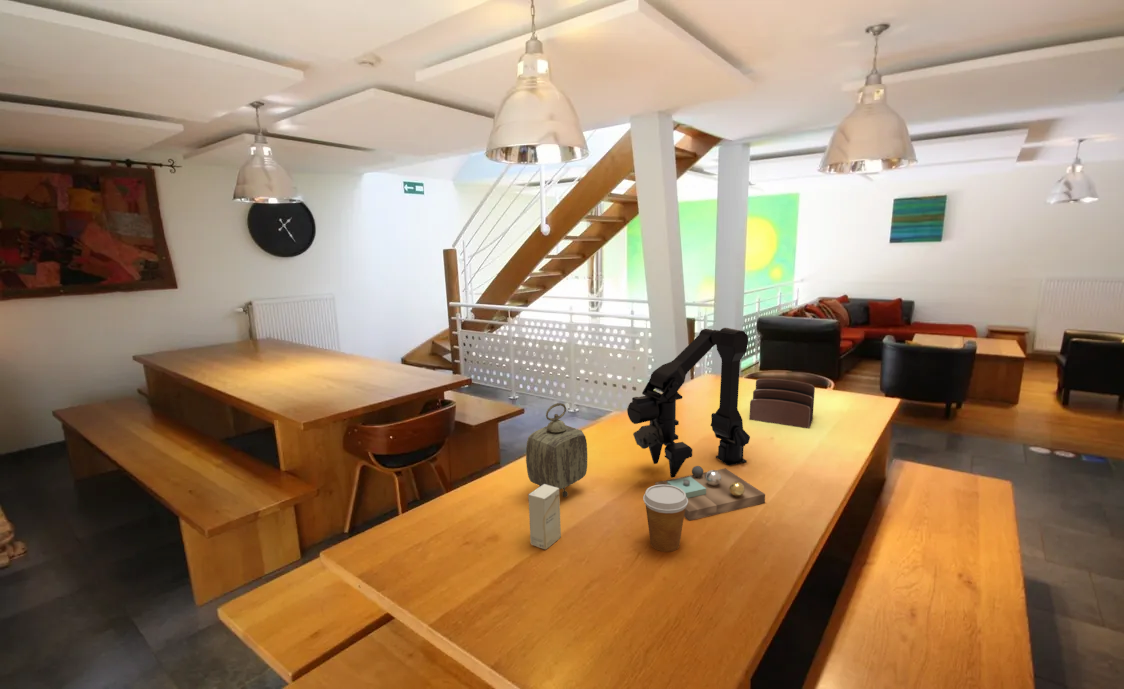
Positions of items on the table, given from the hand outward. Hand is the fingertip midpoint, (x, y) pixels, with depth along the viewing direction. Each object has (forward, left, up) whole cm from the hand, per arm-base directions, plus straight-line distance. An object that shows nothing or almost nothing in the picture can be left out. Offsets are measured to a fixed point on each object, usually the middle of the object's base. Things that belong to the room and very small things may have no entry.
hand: (663, 470), depth 144 cm
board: (-6, +12, -3) cm, 14 cm away
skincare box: (+39, +15, -3) cm, 42 cm away
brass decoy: (-10, +18, +1) cm, 21 cm away
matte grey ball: (-7, +6, +1) cm, 9 cm away
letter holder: (-62, -25, -4) cm, 67 cm away
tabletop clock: (+29, -4, -3) cm, 29 cm away
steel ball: (-8, +11, +1) cm, 14 cm away
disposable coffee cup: (+15, +26, -3) cm, 30 cm away
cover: (0, +11, -1) cm, 11 cm away
